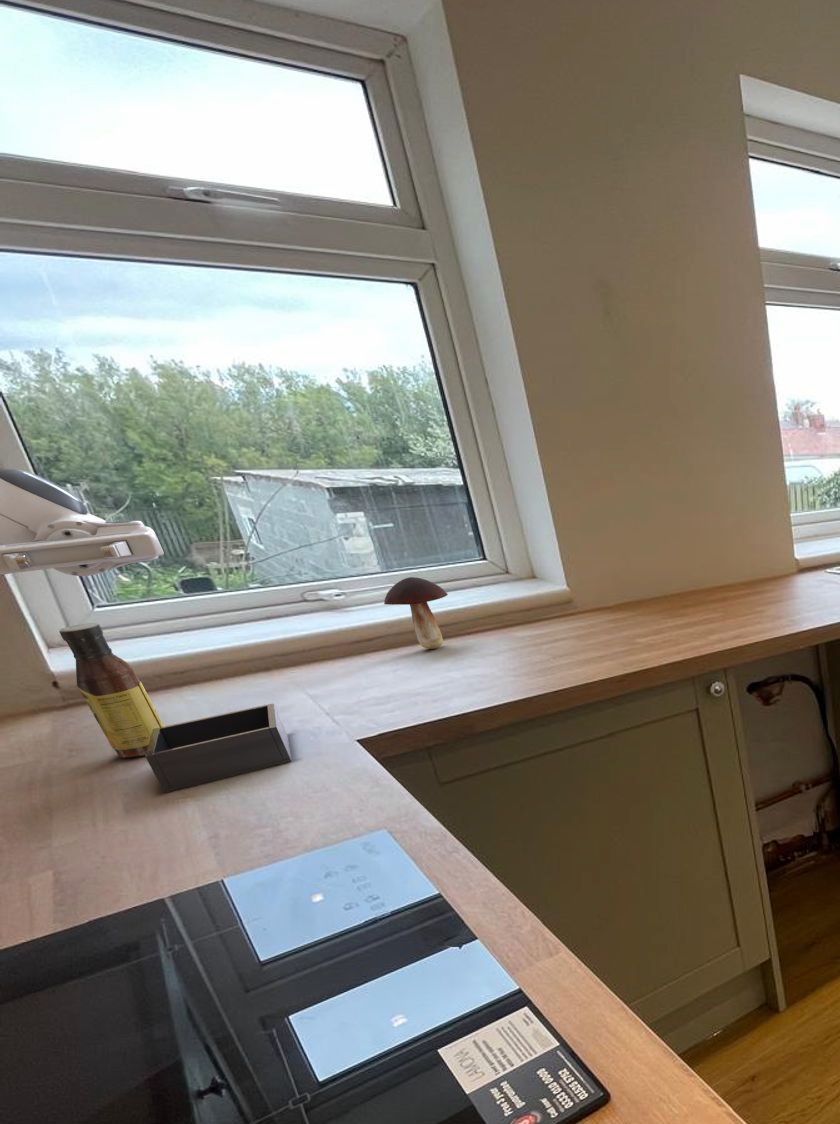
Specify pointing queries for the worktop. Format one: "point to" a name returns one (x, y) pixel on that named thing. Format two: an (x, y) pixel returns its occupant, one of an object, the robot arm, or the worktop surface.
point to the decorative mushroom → (419, 607)
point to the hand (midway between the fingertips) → (65, 557)
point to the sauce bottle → (112, 691)
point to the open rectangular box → (217, 747)
